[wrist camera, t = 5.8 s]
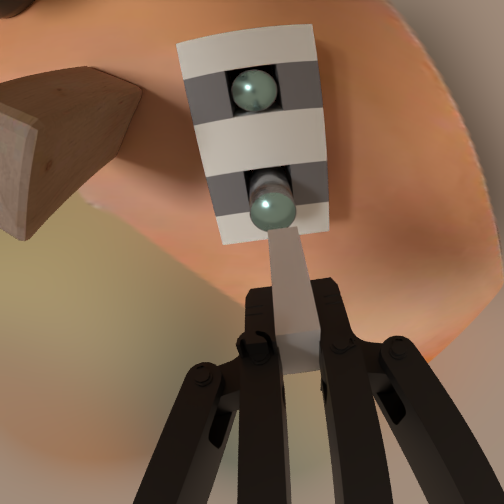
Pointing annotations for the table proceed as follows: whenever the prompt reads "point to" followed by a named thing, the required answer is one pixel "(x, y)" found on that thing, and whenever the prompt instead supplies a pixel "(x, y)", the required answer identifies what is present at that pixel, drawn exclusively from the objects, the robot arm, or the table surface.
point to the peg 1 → (254, 90)
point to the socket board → (259, 124)
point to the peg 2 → (271, 199)
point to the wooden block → (56, 139)
